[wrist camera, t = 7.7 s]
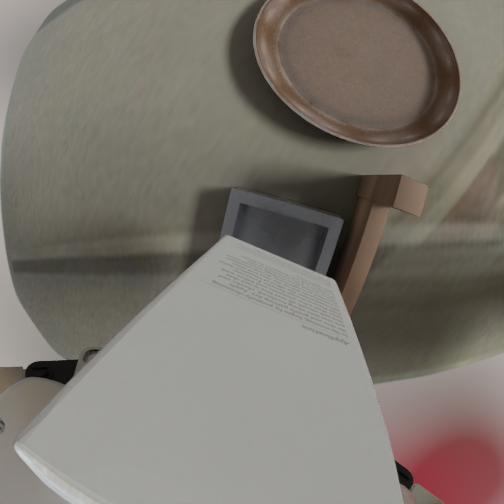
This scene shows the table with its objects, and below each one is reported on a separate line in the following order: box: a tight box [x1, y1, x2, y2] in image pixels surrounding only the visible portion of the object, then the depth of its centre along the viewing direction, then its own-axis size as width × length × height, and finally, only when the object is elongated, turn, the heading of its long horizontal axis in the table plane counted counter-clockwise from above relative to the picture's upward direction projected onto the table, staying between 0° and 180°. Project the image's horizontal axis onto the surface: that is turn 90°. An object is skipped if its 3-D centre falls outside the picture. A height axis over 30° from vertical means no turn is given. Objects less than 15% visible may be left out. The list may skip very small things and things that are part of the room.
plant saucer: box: [253, 0, 461, 148], centre depth 18 cm, size 21×21×3 cm
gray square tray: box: [219, 187, 344, 276], centre depth 25 cm, size 10×12×4 cm
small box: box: [14, 235, 403, 504], centre depth 9 cm, size 8×6×13 cm
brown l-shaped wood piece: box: [332, 175, 429, 316], centre depth 21 cm, size 3×20×10 cm, turn 165°
